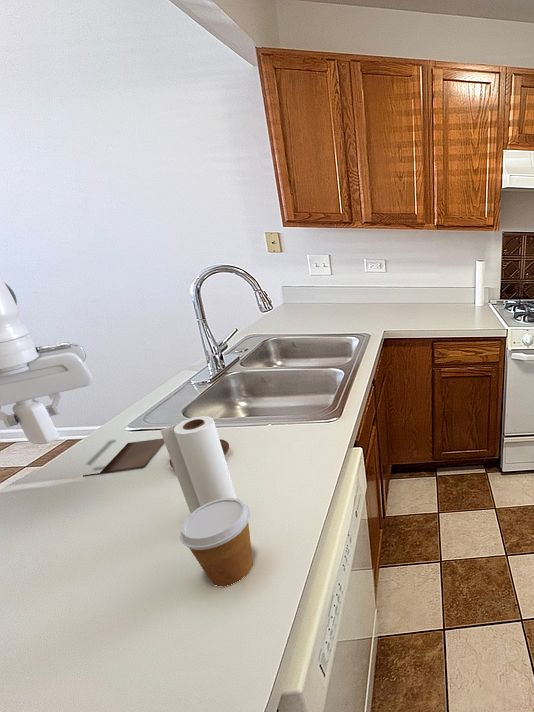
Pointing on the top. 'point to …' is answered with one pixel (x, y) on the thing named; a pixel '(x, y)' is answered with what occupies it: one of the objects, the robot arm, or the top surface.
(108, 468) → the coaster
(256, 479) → the top surface
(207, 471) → the paper towel roll
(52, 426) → the eye dropper bottle
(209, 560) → the disposable coffee cup
